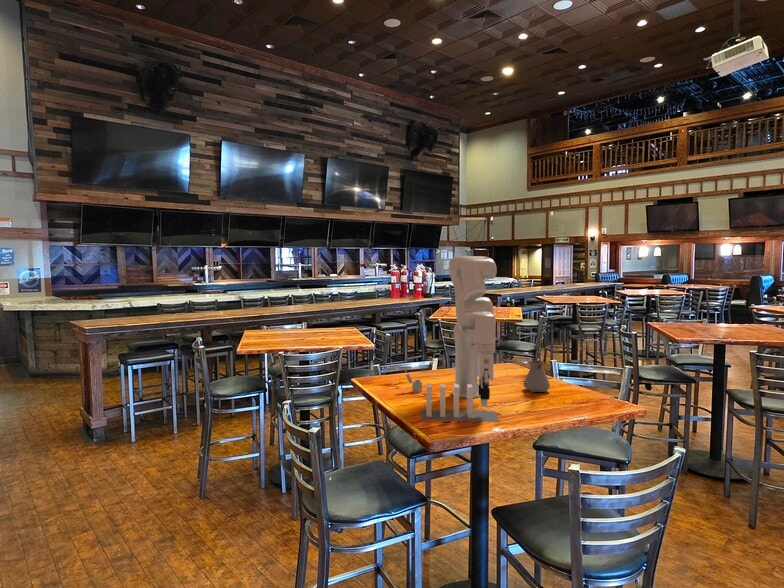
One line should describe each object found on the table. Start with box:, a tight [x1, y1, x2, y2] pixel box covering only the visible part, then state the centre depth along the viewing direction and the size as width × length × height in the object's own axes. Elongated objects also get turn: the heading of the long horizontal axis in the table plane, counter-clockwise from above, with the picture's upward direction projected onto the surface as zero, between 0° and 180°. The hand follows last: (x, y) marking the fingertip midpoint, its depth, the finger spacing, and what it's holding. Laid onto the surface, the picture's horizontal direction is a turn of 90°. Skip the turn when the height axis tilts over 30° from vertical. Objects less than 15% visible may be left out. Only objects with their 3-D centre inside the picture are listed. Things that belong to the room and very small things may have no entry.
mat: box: [420, 408, 501, 423], centre depth 175 cm, size 28×12×1 cm, turn 86°
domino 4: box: [466, 384, 474, 418], centre depth 174 cm, size 2×5×11 cm, turn 176°
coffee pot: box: [523, 360, 551, 393], centre depth 207 cm, size 21×12×15 cm, turn 167°
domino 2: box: [439, 383, 447, 417], centre depth 175 cm, size 2×5×11 cm, turn 176°
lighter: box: [405, 372, 423, 393], centre depth 209 cm, size 7×2×8 cm, turn 91°
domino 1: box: [425, 383, 433, 417], centre depth 176 cm, size 2×5×11 cm, turn 176°
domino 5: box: [480, 378, 488, 407], centre depth 174 cm, size 2×5×11 cm, turn 176°
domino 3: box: [452, 383, 460, 417], centre depth 175 cm, size 2×5×11 cm, turn 176°
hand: (483, 396), depth 174 cm, fingers closed on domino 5, 4 cm apart
